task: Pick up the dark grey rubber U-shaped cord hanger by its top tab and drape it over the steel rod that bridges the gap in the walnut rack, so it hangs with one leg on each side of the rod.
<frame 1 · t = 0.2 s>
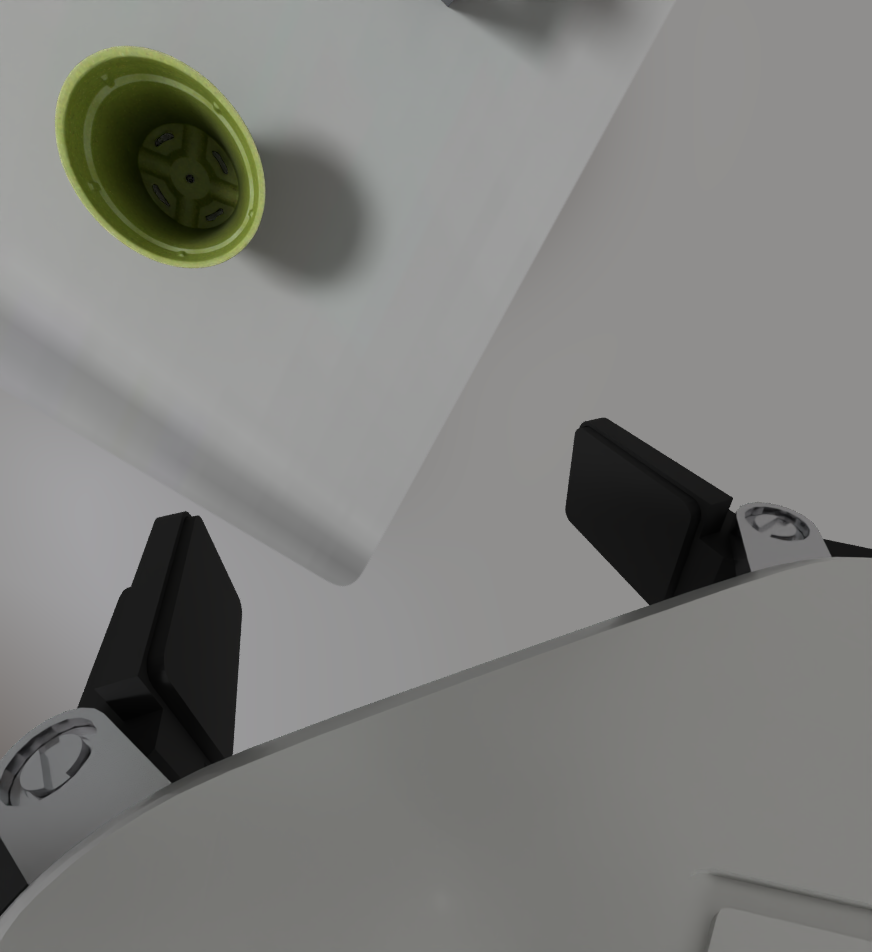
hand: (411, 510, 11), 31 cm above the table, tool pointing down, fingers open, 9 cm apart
plant pot: (192, 178, 30), on the table
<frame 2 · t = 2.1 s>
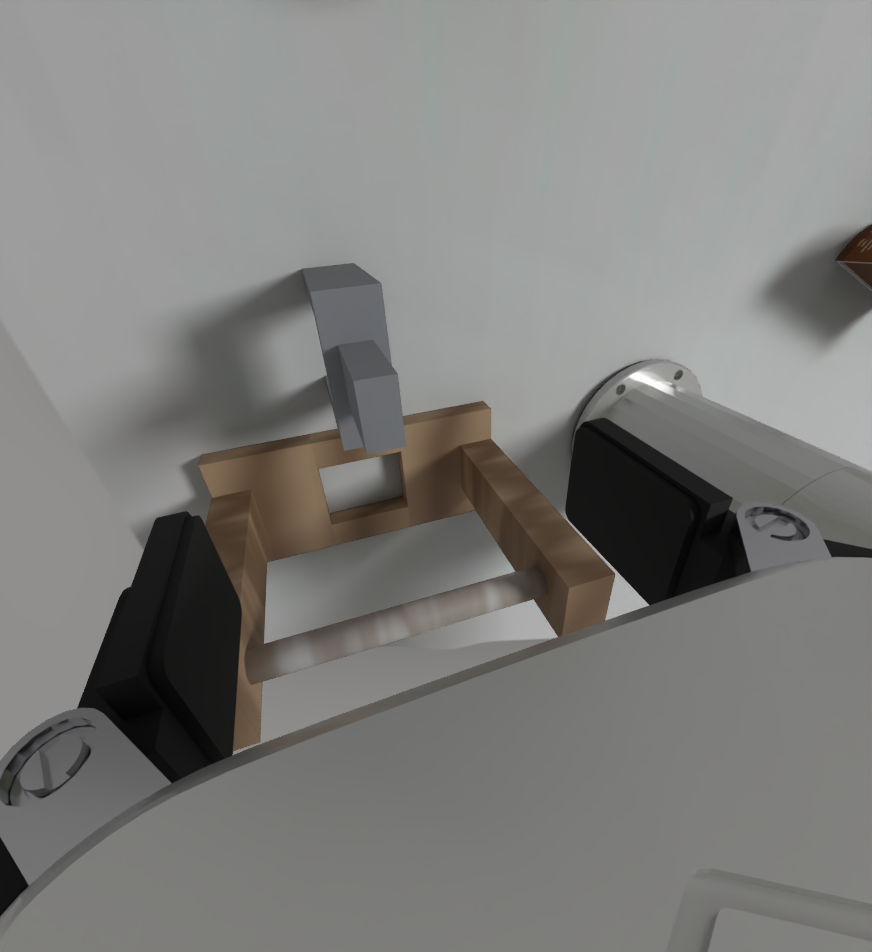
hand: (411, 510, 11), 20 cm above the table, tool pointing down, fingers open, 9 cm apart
rack: (362, 478, 33), on the table
hanger: (340, 332, 27), on the table
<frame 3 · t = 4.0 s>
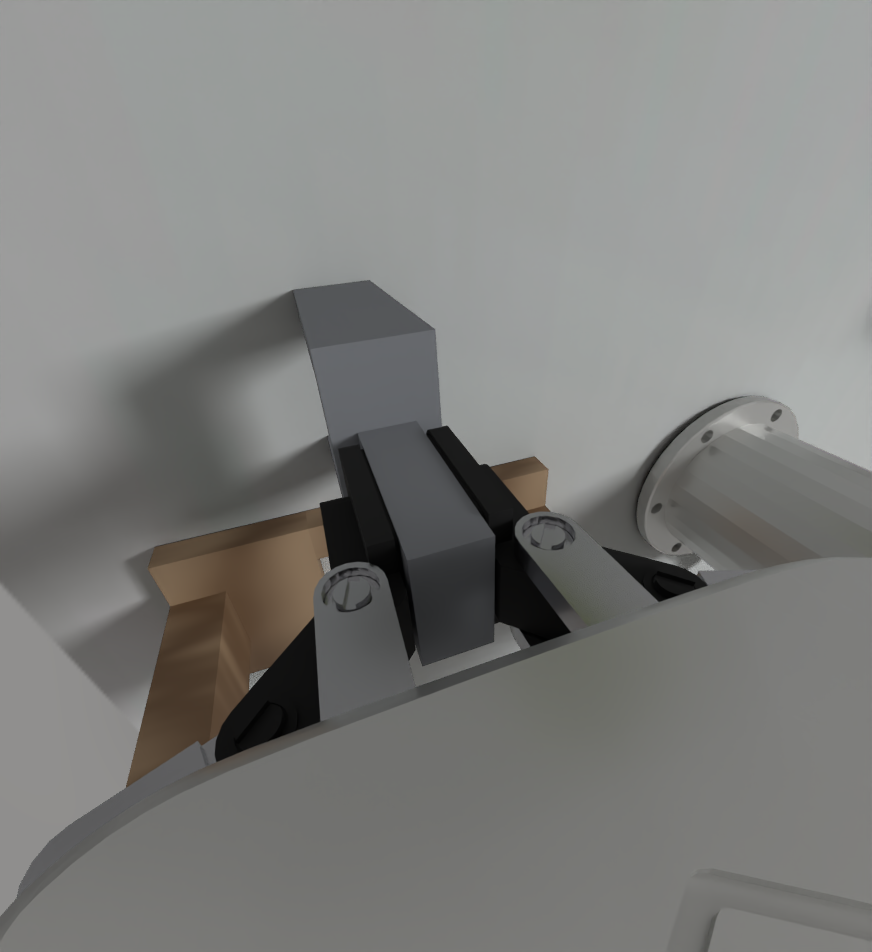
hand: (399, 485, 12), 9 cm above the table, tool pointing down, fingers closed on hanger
rack: (376, 559, 25), on the table
hanger: (349, 377, 19), on the table, touching gripper
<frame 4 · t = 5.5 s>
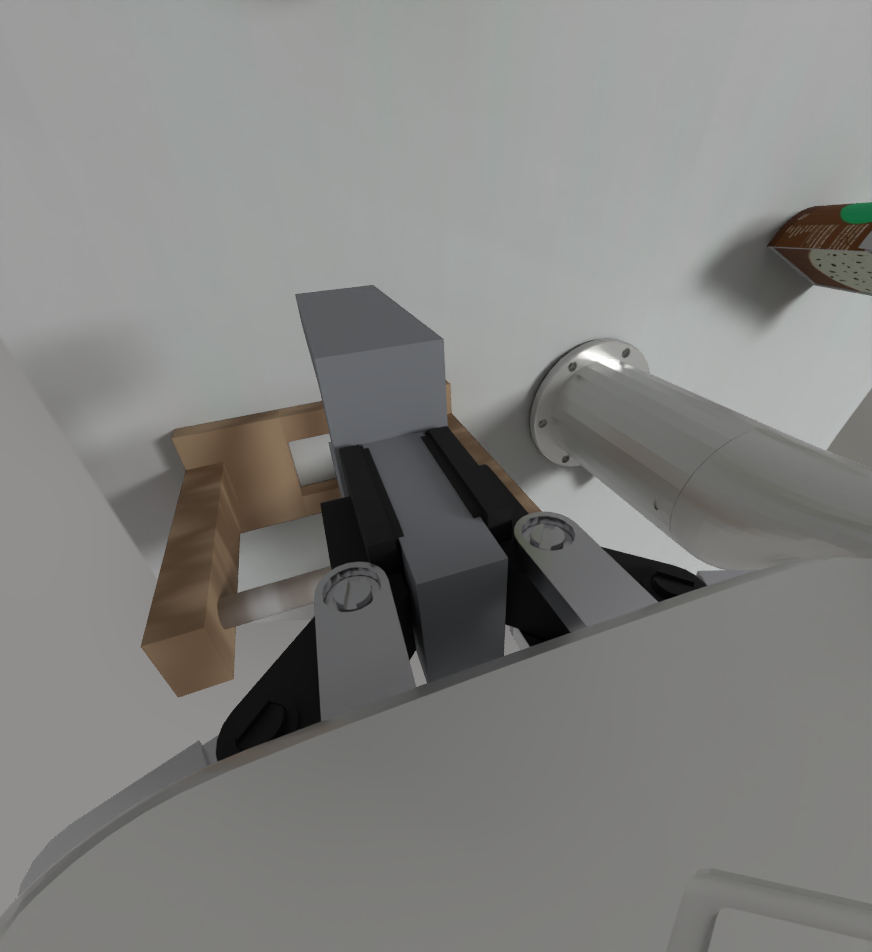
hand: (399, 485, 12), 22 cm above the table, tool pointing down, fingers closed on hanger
rack: (331, 452, 35), on the table
food container: (812, 232, 40), on the table
hanger: (351, 383, 19), point 13 cm above the table, touching gripper
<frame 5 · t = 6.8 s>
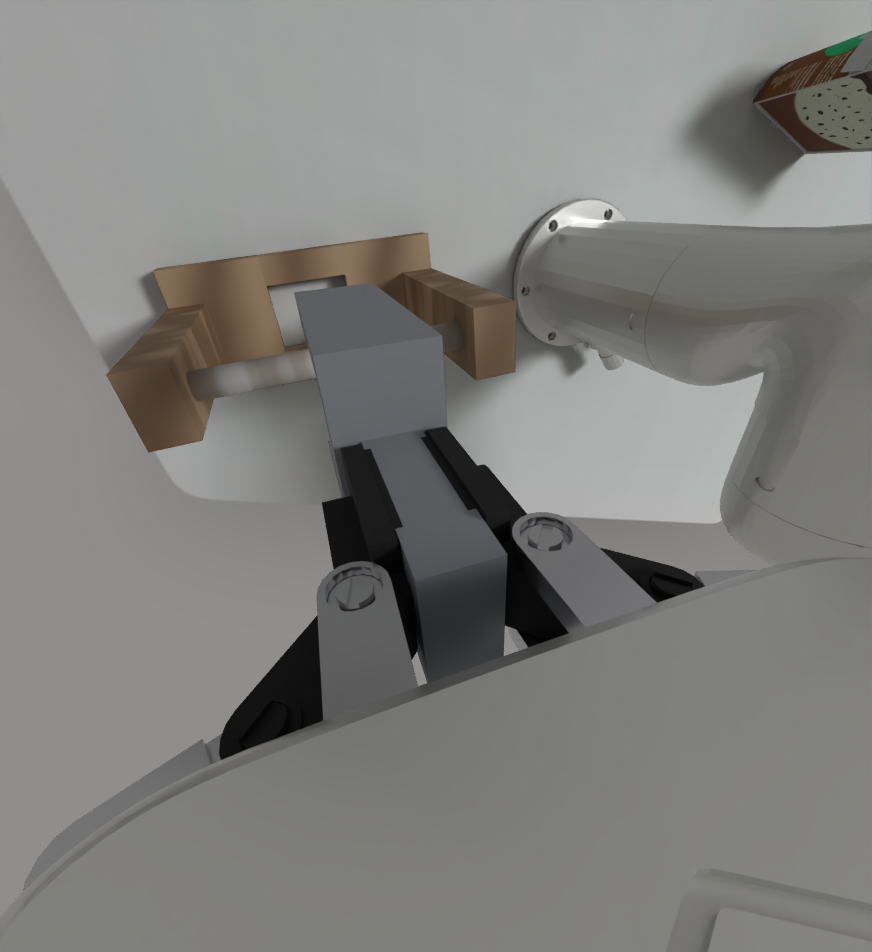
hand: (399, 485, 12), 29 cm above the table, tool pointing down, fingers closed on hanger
rack: (313, 310, 35), on the table
food container: (800, 91, 39), on the table
hanger: (351, 381, 19), point 20 cm above the table, touching gripper
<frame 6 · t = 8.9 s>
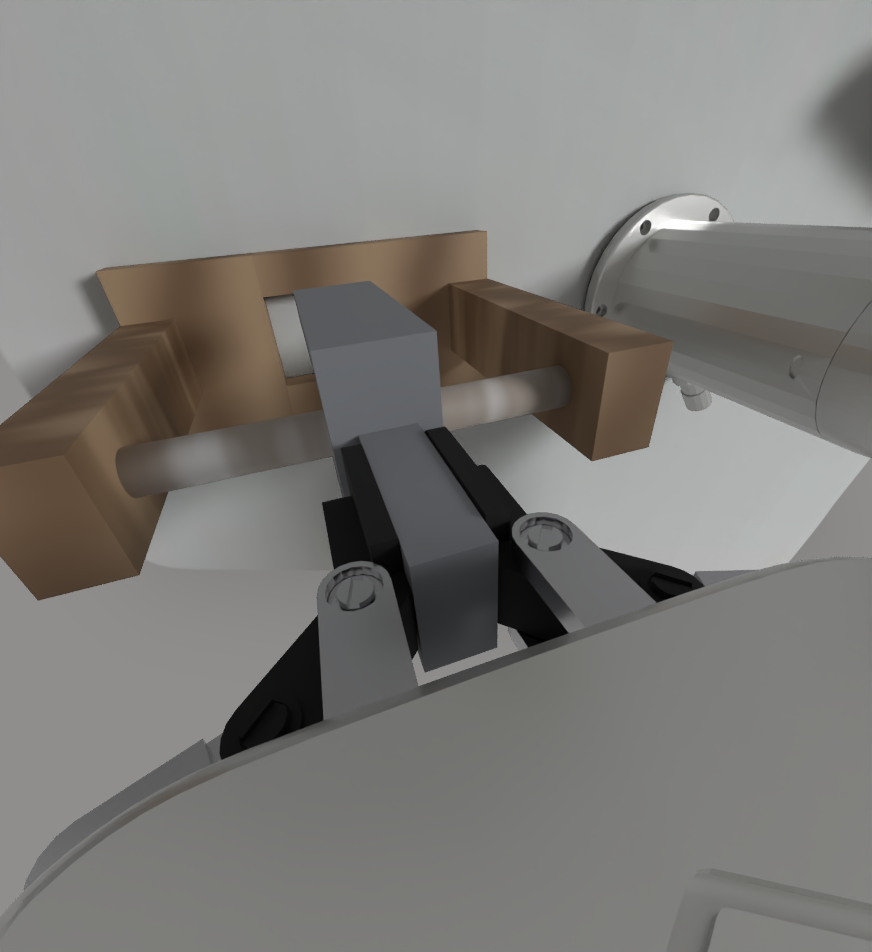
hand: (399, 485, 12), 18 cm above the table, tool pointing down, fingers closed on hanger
rack: (325, 330, 26), on the table
hanger: (349, 378, 19), point 9 cm above the table, touching gripper
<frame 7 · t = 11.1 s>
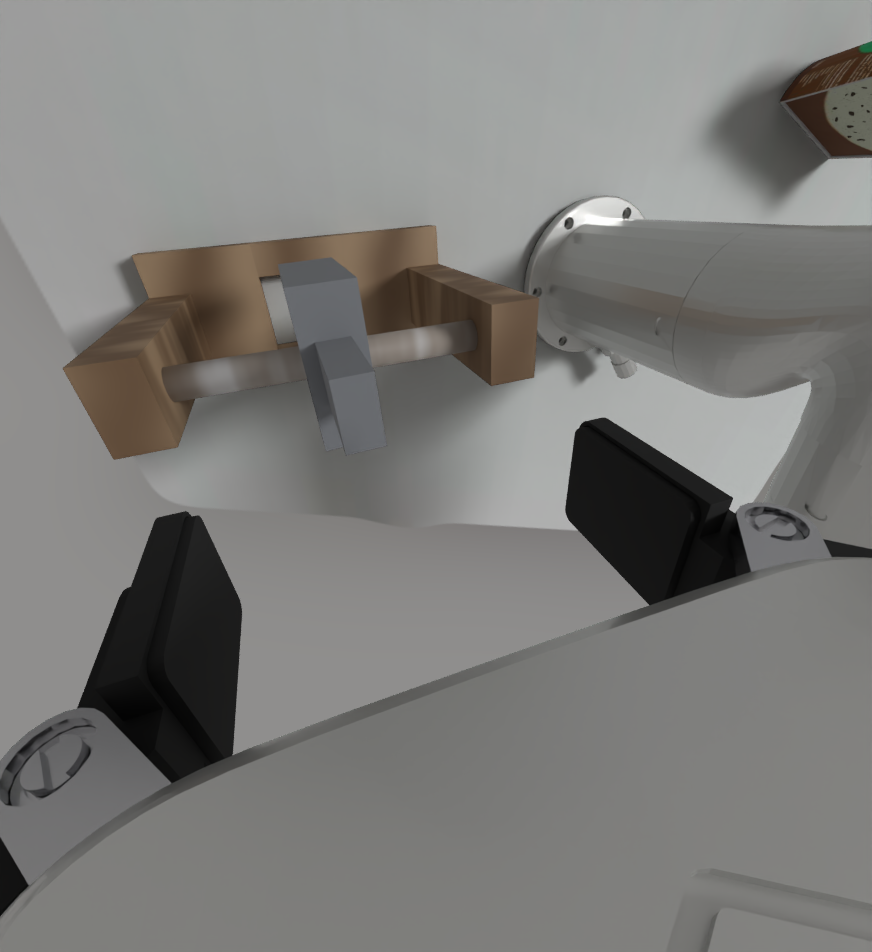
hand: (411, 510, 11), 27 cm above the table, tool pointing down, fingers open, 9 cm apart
rack: (309, 305, 33), on the table
food container: (827, 91, 38), on the table
hanger: (320, 328, 26), point 8 cm above the table, touching rack
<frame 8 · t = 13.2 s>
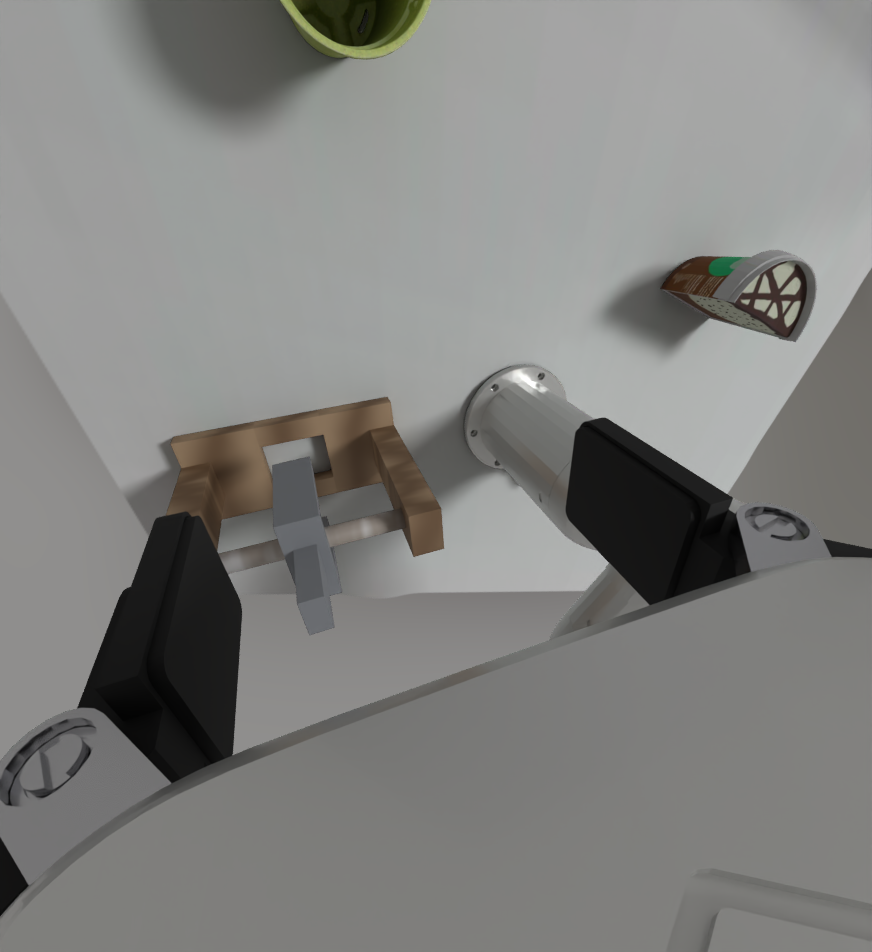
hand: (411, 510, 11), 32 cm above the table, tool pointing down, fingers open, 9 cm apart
rack: (297, 455, 44), on the table
food container: (700, 276, 48), on the table
hanger: (302, 497, 38), point 8 cm above the table, touching rack
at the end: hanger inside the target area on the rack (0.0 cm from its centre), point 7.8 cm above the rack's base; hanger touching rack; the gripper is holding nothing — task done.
